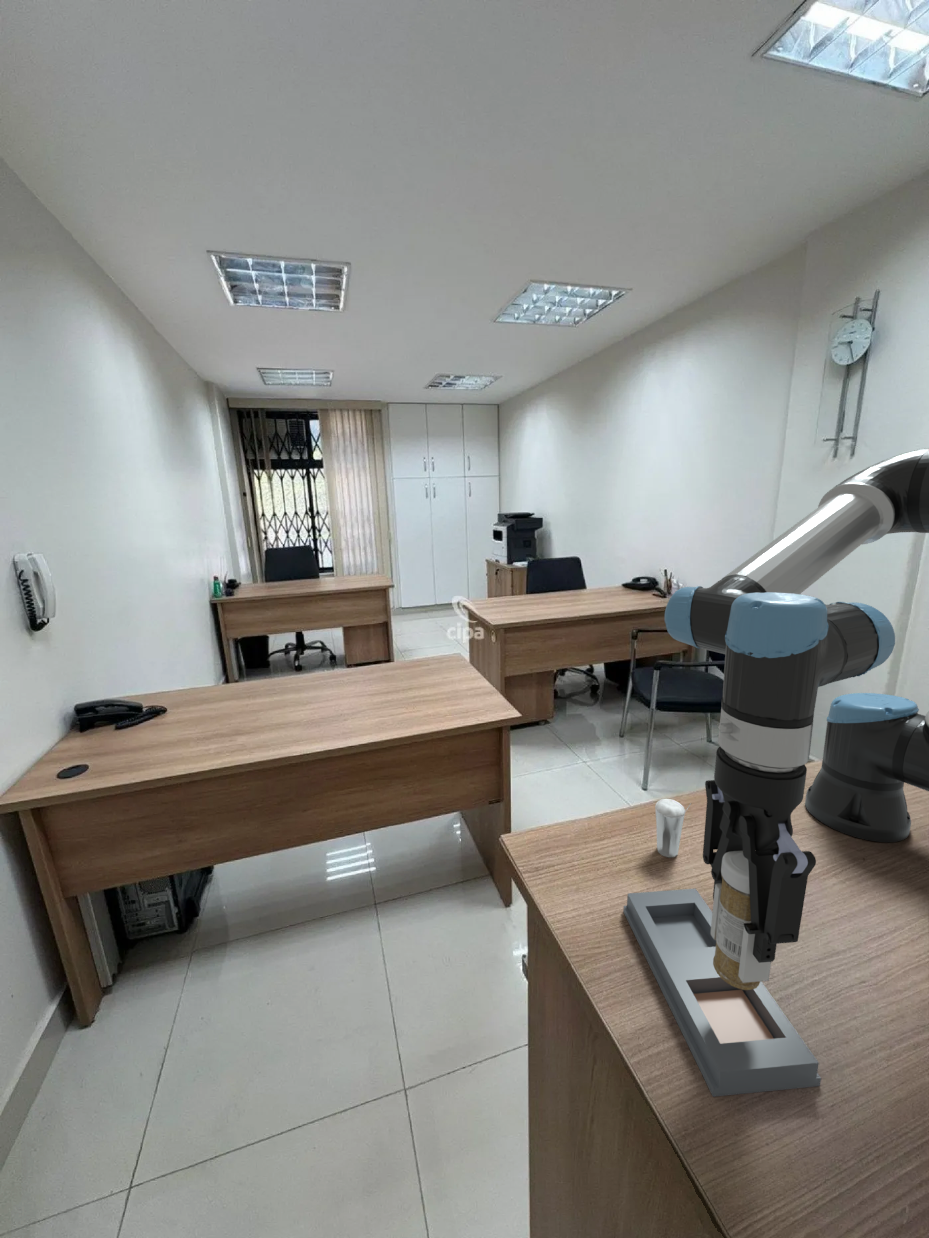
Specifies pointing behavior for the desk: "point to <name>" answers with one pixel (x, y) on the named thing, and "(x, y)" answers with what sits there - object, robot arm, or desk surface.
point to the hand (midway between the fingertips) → (738, 955)
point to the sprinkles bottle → (732, 919)
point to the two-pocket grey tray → (716, 1001)
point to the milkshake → (669, 826)
